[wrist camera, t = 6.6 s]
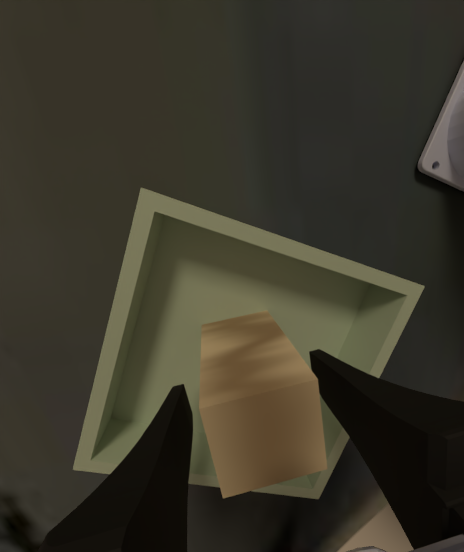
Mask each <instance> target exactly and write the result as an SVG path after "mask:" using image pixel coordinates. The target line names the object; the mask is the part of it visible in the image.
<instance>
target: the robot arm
mask: <svg viewBox="0 0 464 552" xmlns="http://www.w3.org/2000/svg"><path fill="white" fill-rule="evenodd" d="M432 165H433V166H434V167H433V169H432ZM418 169H419V171H420V172H422V173H424V174H426V175H428V176H431V177H433V178H435V179H437V180H439V181H441V182H444V183H446V184H448V185H450V186H452V187H454V188H457V189H459V190H461V191H463V192H464V61H463V63H462V65H461V67H460V70H459V72H458V74H457V76H456V78H455V81H454V83H453V85H452V87H451V90H450V92H449V94H448V96H447V99H446V101H445V103H444V105H443V108H442V110H441V112H440V114H439V117H438V119H437V121H436V123H435V125H434V128H433V130H432V132H431V134H430V137H429V139H428V141H427V143H426V146H425V148H424V150H423V152H422V155H421V157H420V159H419V161H418ZM309 355H310V363H311V370H312V372H313V373H314V375H315V376H316V377H317V379H318V386H319V394H320V395H321V397H322V399H323V400H324V402H325V403H326V405H327V406H328V408H329V409H330V410H331V412H332V413H333V415H334V416H335V417H336V419H337V420H338V421H339V423H340V424H341V426H342V427H343V428H344V430H345V431H346V433H347V434H348V435H349V437H350V438H351V440H352V441H353V443H354V444H355V446H356V447H357V449H358V451H359V452H360V454H361V456H362V457H363V459H364V461H365V462H366V464H367V466H368V467H369V469H370V471H371V473H372V474H373V476H374V478H375V480H376V481H377V483H378V485H379V486H380V488H381V490H382V492H383V493H384V495H385V497H386V499H387V501H388V503H389V504H390V506H391V508H392V510H393V511H394V513H395V515H396V517H397V519H398V520H399V522H400V524H401V526H402V528H403V530H404V532H405V533H406V536H407V537H408V539H409V541H410V543H411V545H412V547H413V548H414V550H413V551H409V552H464V402H462V401H456V400H451V399H447V398H442V397H438V396H434V395H430V394H426V393H422V392H418V391H415V390H412V389H408V388H405V387H402V386H399V385H396V384H393V383H390V382H388V381H385V380H382V379H380V378H377V377H375V376H372V375H370V374H368V373H366V372H363V371H361V370H359V369H357V368H355V367H353V366H351V365H349V364H347V363H345V362H343V361H341V360H339V359H337V358H335V357H334V356H332V355H330V354H328V353H326V352H324V351H322V350H320V349H317V350H313V351H309ZM192 441H193V413H192V410H191V406H190V403H189V400H188V396H187V393H186V390H185V386H184V384H181V385H177V386H173V387H172V388H171V390H170V392H169V393H168V395H167V397H166V399H165V400H164V402H163V404H162V405H161V407H160V409H159V410H158V412H157V414H156V415H155V417H154V418H153V420H152V421H151V423H150V425H149V426H148V427H147V429H146V430H145V432H144V433H143V435H142V436H141V438H140V439H139V440H138V442H137V443H136V444H135V446H134V447H133V448H132V449H131V451H130V452H129V453H128V454H127V456H126V457H125V458H124V459H123V460H122V461H121V463H120V464H119V465H118V466H117V467H116V468H115V469H114V470H113V472H112V473H111V474H110V475H109V476H108V477H107V478H106V479H105V480H104V481H103V482H102V483H101V484H100V485H99V486H98V488H97V489H96V490H95V491H94V492H93V493H91V494H90V495H89V496H88V497H87V498H86V499H85V500H84V501H83V502H82V503H81V504H80V505H79V506H78V507H77V508H76V509H75V510H73V511H72V512H71V513H70V514H69V515H68V516H67V517H66V518H64V519H63V520H62V521H61V522H60V523H59V524H58V525H57V526H55V527H54V528H53V529H52V530H51V531H50V532H48V534H47V535H46V537H45V539H44V541H43V543H42V545H41V547H40V548H39V550H38V552H187V497H188V482H189V472H190V462H191V452H192ZM347 552H386V551H384V550H382V549H379V548H376V547H374V546H369V547H362V548H356V549H354V550H350V551H347Z"/></svg>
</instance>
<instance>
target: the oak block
mask: <svg viewBox="0 0 464 552" xmlns="http://www.w3.org/2000/svg"><path fill="white" fill-rule="evenodd" d="M199 411H200V414H201V418H202V422H203V426H204V429H205V433H206V437H207V441H208V444H209V448H210V452H211V456H212V459H213V463H214V467H215V471H216V474H217V478H218V482H219V485H220V489H221V493H222V497H223V499H224V498H227V497H231V496H234V495H238V494H241V493H245V492H248V491H252V490H255V489H259V488H263V487H266V486H270V485H273V484H277V483H280V482H284V481H287V480H291V479H294V478H298V477H301V476H305V475H309V474H312V473H316V472H319V471H323V470H326V469H327V460H326V450H325V441H324V432H323V423H322V413H321V404H320V395H319V386H318V379H317V377H316V376H315V375H314V373H313V372H312V370H311V369H310V368H309V366H308V365H307V364H306V362H305V361H304V360H303V358H302V357H301V356H300V354H299V353H298V351H297V350H296V349H295V347H294V346H293V345H292V343H291V342H290V341H289V339H288V338H287V336H286V335H285V334H284V332H283V331H282V330H281V328H280V327H279V326H278V324H277V323H276V322H275V320H274V319H273V317H272V316H271V315H270V313H269V312H268V311H267V310H266V311H262V312H257V313H253V314H248V315H244V316H239V317H235V318H230V319H226V320H221V321H217V322H212V323H208V324H203V325H202V328H201V360H200V392H199Z"/></svg>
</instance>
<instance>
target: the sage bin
mask: <svg viewBox="0 0 464 552" xmlns="http://www.w3.org/2000/svg"><path fill="white" fill-rule="evenodd" d="M424 287H425V286H423V285H420V284H417V283H414V282H411V281H408V280H405V279H402V278H400V277H397V276H394V275H391V274H388V273H385V272H382V271H379V270H377V269H374V268H371V267H368V266H365V265H362V264H359V263H356V262H354V261H351V260H348V259H345V258H342V257H339V256H336V255H333V254H331V253H328V252H325V251H322V250H319V249H316V248H313V247H310V246H308V245H305V244H302V243H299V242H296V241H293V240H290V239H287V238H285V237H282V236H279V235H276V234H273V233H270V232H267V231H264V230H262V229H259V228H256V227H253V226H250V225H247V224H244V223H241V222H239V221H236V220H233V219H230V218H227V217H224V216H221V215H218V214H216V213H213V212H210V211H207V210H204V209H201V208H198V207H196V206H193V205H190V204H187V203H184V202H181V201H178V200H175V199H173V198H170V197H167V196H164V195H161V194H158V193H155V192H152V191H150V190H147V189H144V188H141V190H140V194H139V198H138V202H137V206H136V211H135V215H134V219H133V223H132V227H131V231H130V235H129V239H128V244H127V248H126V252H125V256H124V260H123V264H122V268H121V272H120V277H119V281H118V285H117V289H116V293H115V297H114V301H113V306H112V310H111V314H110V318H109V322H108V326H107V330H106V334H105V339H104V343H103V347H102V351H101V355H100V359H99V363H98V367H97V372H96V376H95V380H94V384H93V388H92V392H91V396H90V401H89V405H88V409H87V413H86V417H85V421H84V425H83V429H82V434H81V438H80V442H79V446H78V450H77V454H76V458H75V462H74V467H73V470H79V471H87V472H96V473H104V474H111V473H112V472H113V470H114V469H115V468H116V467H117V466H118V465H119V464H120V463H121V461H122V460H123V459H124V458H125V457H126V456H127V454H128V453H129V452H130V451H131V449H132V448H133V447H134V446H135V444H136V443H137V442H138V440H139V439H140V438H141V436H142V435H143V433H144V432H145V430H146V429H147V427H148V426H149V425H150V423H151V421H152V420H153V418H154V417H155V415H156V414H157V412H158V410H159V409H160V407H161V405H162V404H163V402H164V400H165V399H166V397H167V395H168V393H169V392H170V390H171V388H172V387H173V386H177V385H181V384H184V386H185V390H186V393H187V396H188V400H189V403H190V406H191V410H192V413H193V441H192V452H191V462H190V472H189V482H188V484H196V485H204V486H213V487H220V485H219V482H218V478H217V474H216V471H215V467H214V463H213V459H212V456H211V452H210V448H209V444H208V441H207V437H206V433H205V429H204V426H203V422H202V418H201V414H200V411H199V392H200V360H201V328H202V325H203V324H208V323H212V322H217V321H221V320H226V319H230V318H235V317H239V316H244V315H248V314H253V313H257V312H262V311H266V310H267V311H268V312H269V313H270V315H271V316H272V317H273V319H274V320H275V322H276V323H277V324H278V326H279V327H280V328H281V330H282V331H283V332H284V334H285V335H286V336H287V338H288V339H289V341H290V342H291V343H292V345H293V346H294V347H295V349H296V350H297V351H298V353H299V354H300V356H301V357H302V358H303V360H304V361H305V362H306V364H307V365H308V366H309V368H310V369H311V363H310V355H309V351H313V350H317V349H320V350H322V351H324V352H326V353H328V354H330V355H332V356H334V357H335V358H337V359H339V360H341V361H343V362H345V363H347V364H349V365H351V366H353V367H355V368H357V369H359V370H361V371H363V372H366V373H368V374H370V375H372V376H375V377H377V378H379V377H380V375H381V373H382V371H383V369H384V367H385V365H386V363H387V361H388V359H389V357H390V355H391V353H392V351H393V349H394V347H395V345H396V343H397V341H398V339H399V337H400V335H401V333H402V331H403V329H404V327H405V325H406V323H407V321H408V319H409V317H410V315H411V313H412V311H413V309H414V307H415V305H416V303H417V301H418V299H419V297H420V295H421V293H422V291H423V289H424ZM319 395H320V394H319ZM320 404H321V413H322V423H323V432H324V441H325V450H326V460H327V469H326V470H323V471H319V472H316V473H312V474H309V475H305V476H301V477H298V478H294V479H291V480H287V481H284V482H280V483H277V484H273V485H270V486H266V487H263V488H259V489H255V490H252V491H254V492H263V493H271V494H279V495H288V496H296V497H304V498H313V499H319V497H320V495H321V493H322V491H323V489H324V487H325V485H326V483H327V481H328V479H329V477H330V475H331V473H332V471H333V469H334V467H335V465H336V463H337V461H338V459H339V457H340V455H341V453H342V451H343V449H344V447H345V445H346V443H347V441H348V439H349V435H348V434H347V433H346V431H345V430H344V428H343V427H342V426H341V424H340V423H339V421H338V420H337V419H336V417H335V416H334V415H333V413H332V412H331V410H330V409H329V408H328V406H327V405H326V403H325V402H324V400H323V399H322V397H321V395H320Z"/></svg>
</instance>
